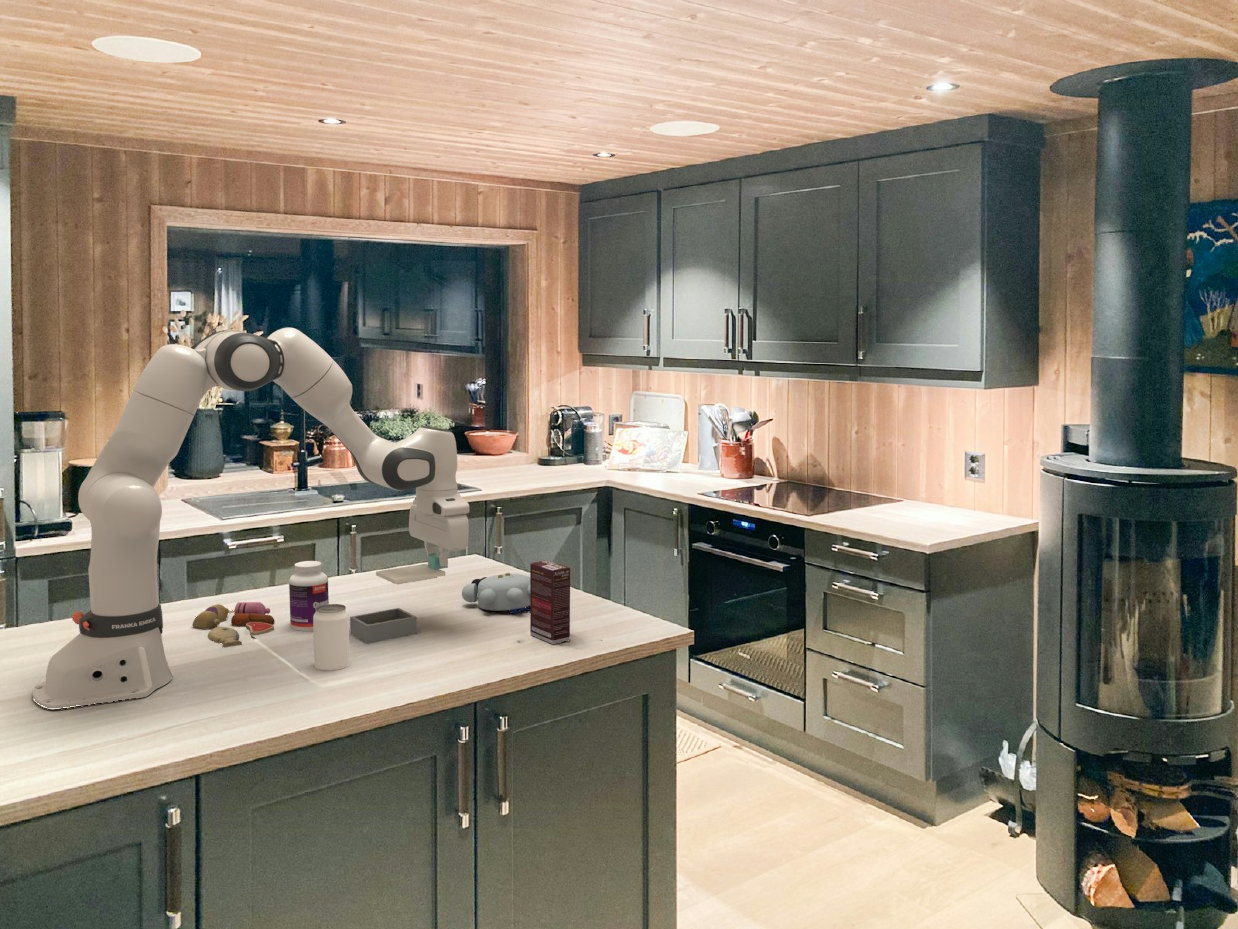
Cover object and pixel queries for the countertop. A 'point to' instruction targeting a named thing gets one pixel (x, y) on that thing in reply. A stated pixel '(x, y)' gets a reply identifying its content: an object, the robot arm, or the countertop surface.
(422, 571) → the lid
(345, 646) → the can
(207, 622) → the toy food set
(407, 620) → the tub
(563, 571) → the supplement box
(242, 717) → the countertop surface
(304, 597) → the pill bottle
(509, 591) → the figurine
